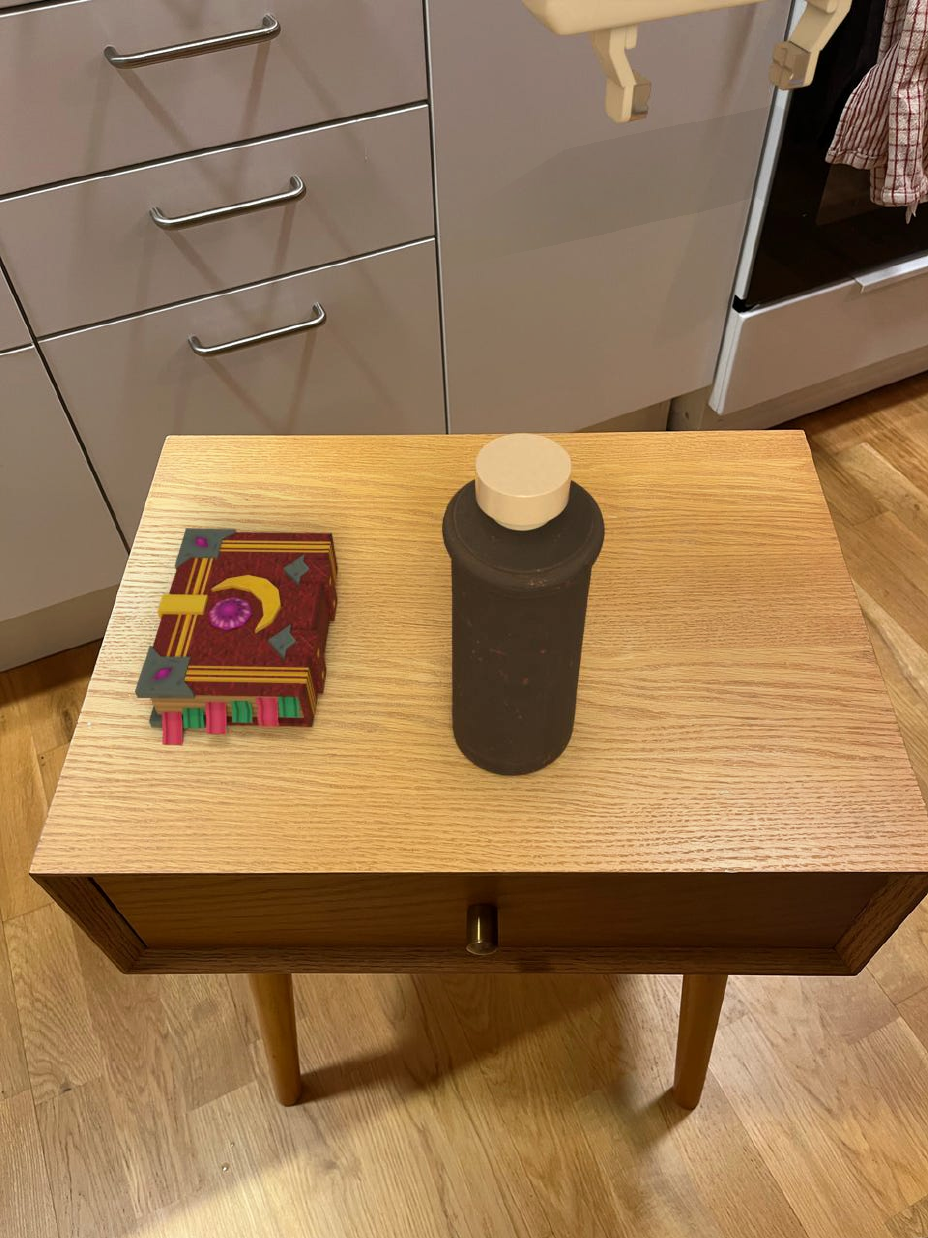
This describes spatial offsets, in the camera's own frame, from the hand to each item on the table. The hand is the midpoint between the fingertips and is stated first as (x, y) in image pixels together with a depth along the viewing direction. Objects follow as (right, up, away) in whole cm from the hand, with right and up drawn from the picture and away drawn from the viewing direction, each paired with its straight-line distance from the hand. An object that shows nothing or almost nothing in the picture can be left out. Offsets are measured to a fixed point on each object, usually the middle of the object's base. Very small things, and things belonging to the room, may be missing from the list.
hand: (708, 100), depth 48 cm
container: (-9, -34, +17) cm, 39 cm away
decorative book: (-28, -29, +21) cm, 45 cm away
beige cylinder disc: (-9, -20, +1) cm, 22 cm away
